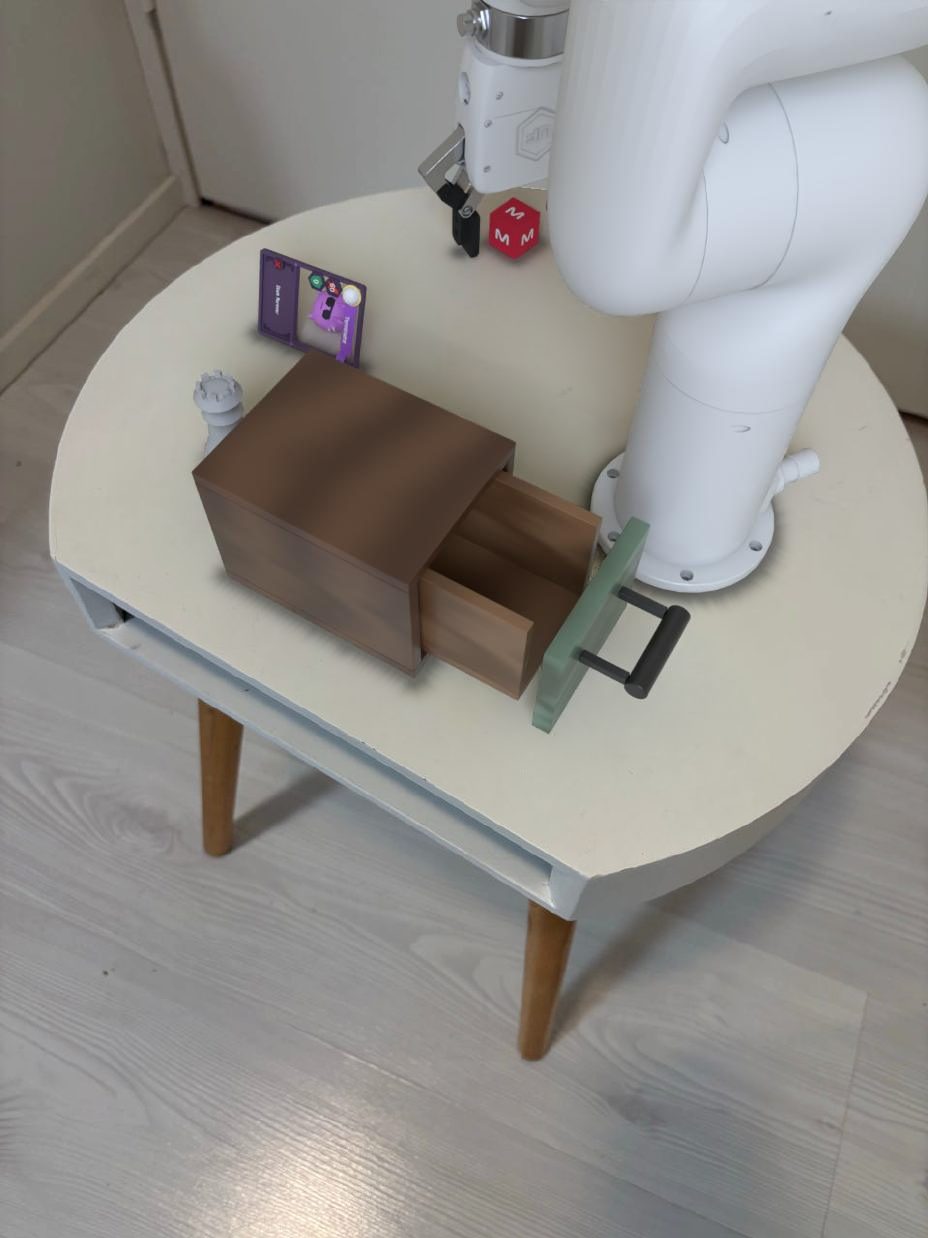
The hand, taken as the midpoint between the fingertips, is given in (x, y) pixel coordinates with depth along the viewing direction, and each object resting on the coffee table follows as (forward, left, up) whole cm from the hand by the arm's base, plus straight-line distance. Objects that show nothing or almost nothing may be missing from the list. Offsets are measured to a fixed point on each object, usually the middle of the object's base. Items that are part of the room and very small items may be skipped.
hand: (513, 232), depth 82 cm
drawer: (+18, +35, 0) cm, 39 cm away
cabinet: (+24, +25, -1) cm, 35 cm away
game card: (+19, +3, -1) cm, 19 cm away
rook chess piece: (+29, +13, -1) cm, 32 cm away
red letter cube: (0, 0, -1) cm, 1 cm away
